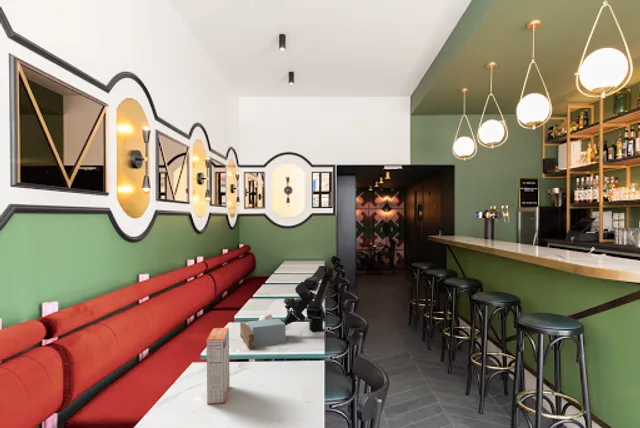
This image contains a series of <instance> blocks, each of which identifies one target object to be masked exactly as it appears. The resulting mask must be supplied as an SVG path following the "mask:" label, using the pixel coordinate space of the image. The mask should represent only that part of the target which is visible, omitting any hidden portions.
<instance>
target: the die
mask: <svg viewBox="0 0 640 428" xmlns="http://www.w3.org/2000/svg"><path fill="white" fill-rule="evenodd" d="M269 319H274V318H273V316H272V314H267V313H266V314H261V315H260V317H259V319H258V320H269Z"/></svg>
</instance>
